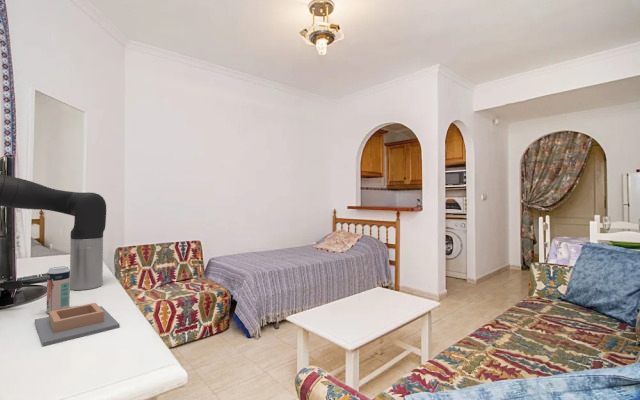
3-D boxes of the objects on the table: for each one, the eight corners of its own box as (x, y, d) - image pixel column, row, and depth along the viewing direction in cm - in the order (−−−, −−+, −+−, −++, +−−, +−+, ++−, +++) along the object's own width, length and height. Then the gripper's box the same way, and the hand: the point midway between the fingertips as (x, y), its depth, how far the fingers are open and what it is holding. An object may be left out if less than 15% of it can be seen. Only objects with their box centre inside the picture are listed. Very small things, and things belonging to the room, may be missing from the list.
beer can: (50, 309, 87) (51, 266, 87) (71, 307, 89) (72, 265, 89) (43, 315, 83) (44, 270, 83) (65, 313, 85) (66, 269, 85)
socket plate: (34, 322, 78) (34, 309, 78) (101, 309, 88) (101, 297, 88) (42, 346, 66) (42, 330, 66) (119, 327, 76) (119, 313, 76)
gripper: (-97, 285, 71) (-8, 281, 76) (-45, 271, 85) (28, 268, 90) (-98, 318, 71) (-9, 311, 76) (-45, 299, 85) (27, 294, 90)
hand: (11, 288), depth 83 cm, fingers open, 8 cm apart
